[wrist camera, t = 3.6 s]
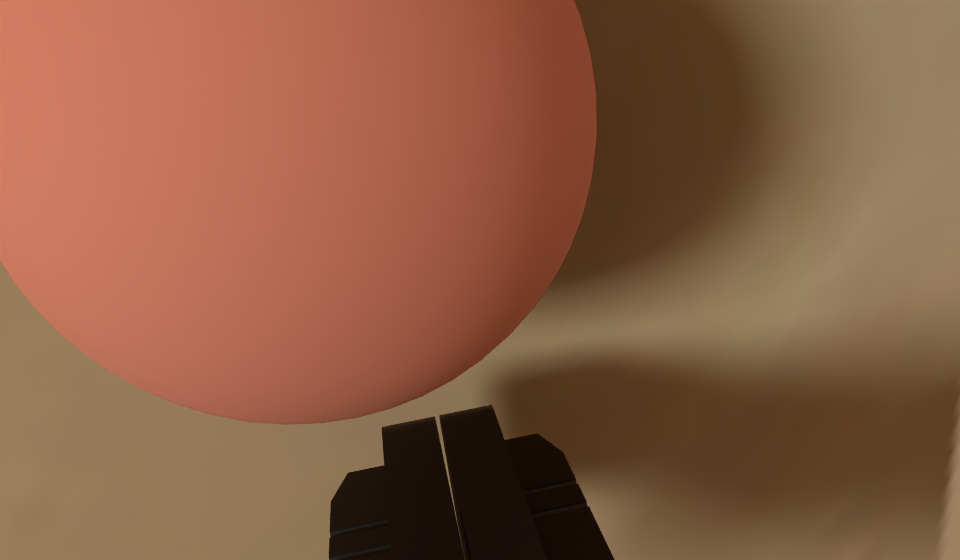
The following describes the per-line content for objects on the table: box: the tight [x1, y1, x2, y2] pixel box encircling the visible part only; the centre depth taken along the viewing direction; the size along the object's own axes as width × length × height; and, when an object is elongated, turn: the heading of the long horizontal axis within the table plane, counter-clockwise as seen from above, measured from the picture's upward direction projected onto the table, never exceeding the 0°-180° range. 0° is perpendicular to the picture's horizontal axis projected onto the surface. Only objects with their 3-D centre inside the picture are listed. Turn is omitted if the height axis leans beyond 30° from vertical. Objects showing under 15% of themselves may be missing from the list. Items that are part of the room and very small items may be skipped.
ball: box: [0, 0, 597, 424], centre depth 7 cm, size 6×6×6 cm
